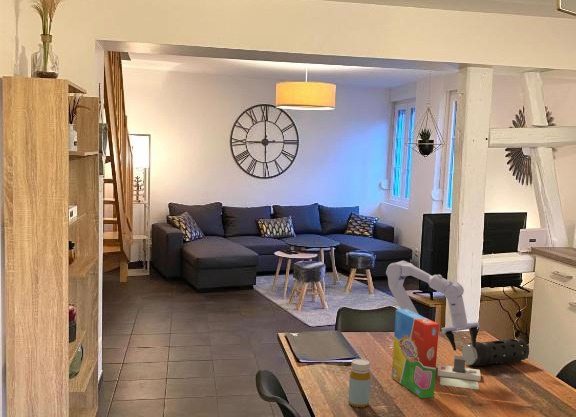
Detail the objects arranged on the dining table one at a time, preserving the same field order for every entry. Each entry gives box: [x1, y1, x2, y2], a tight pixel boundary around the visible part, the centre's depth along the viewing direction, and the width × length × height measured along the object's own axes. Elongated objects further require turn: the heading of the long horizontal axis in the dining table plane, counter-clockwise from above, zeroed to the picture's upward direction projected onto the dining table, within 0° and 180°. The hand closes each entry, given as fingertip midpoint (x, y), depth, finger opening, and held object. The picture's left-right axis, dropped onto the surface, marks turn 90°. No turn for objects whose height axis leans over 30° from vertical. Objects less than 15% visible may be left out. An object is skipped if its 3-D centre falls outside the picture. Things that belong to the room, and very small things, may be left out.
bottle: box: [347, 358, 371, 408], centre depth 208 cm, size 7×7×15 cm
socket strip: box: [437, 364, 482, 382], centre depth 239 cm, size 16×7×3 cm, turn 75°
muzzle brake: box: [461, 337, 530, 367], centre depth 254 cm, size 10×28×10 cm, turn 112°
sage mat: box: [439, 376, 480, 391], centre depth 230 cm, size 14×8×1 cm, turn 75°
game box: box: [391, 308, 440, 399], centre depth 225 cm, size 21×6×27 cm, turn 22°
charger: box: [453, 355, 466, 373], centre depth 239 cm, size 4×4×7 cm
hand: (464, 348), depth 238 cm, fingers open, 7 cm apart
